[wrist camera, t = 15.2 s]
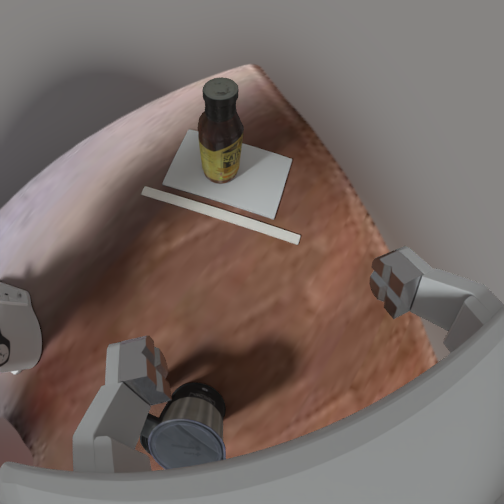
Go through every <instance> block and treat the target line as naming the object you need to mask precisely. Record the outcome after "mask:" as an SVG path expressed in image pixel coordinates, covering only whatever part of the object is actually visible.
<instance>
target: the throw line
mask: <svg viewBox="0 0 504 504" xmlns="http://www.w3.org/2000/svg"><path fill="white" fill-rule="evenodd" d="M141 195H144V196H147V197H150V198H154V199H157V200H160V201H163V202H167V203H170V204H173V205H176V206H180V207H183V208H186V209H189V210H192V211H196V212H199V213H202V214H205V215H208V216H211V217H214V218H218V219H221V220H224V221H227V222H230V223H233V224H236V225H239V226H242V227H245V228H248V229H252V230H255V231H258V232H261V233H264V234H267V235H270V236H273V237H276V238H279V239H282V240H285V241H288V242H291V243H294V244H296V245H298V243H299V240H300V236H301V235H298V234H295V233H292V232H289V231H286V230H283V229H280V228H277V227H274V226H271V225H268V224H265V223H262V222H259V221H256V220H253V219H250V218H247V217H244V216H241V215H238V214H235V213H231V212H228V211H225V210H222V209H219V208H216V207H213V206H209V205H206V204H203V203H200V202H196V201H193V200H190V199H187V198H183V197H180V196H177V195H173V194H170V193H167V192H163V191H160V190H156V189H153V188H150V187H146V186H144V189H143V191H142V193H141Z"/></svg>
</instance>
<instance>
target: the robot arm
mask: <svg viewBox="0 0 504 504" xmlns="http://www.w3.org/2000/svg"><path fill="white" fill-rule="evenodd" d="M372 268H373V270H374V272H373V273H372V275H371V276H370V287H371V291H372V293H373V294H374V296H375V297H376V298H377V299H378V300H381V301H383V302H384V308H385V309H386V310H387V312H388V313H389V314H390V315H391V317H392V318H393V319H395V318H397V317H399V316H401V315H403V314H404V313H406V312H408V311H410V310H411V311H410V312H412V313H414V314H416V315H418V316H420V317H422V318H424V319H426V320H428V321H430V322H432V323H433V324H436V325H437V326H439V327H441V328H443V329H445V330H447V331H448V333H447V335H446V337H445V338H444V342H443V343H444V345H445V346H446V347H447V348H448V350H449V351H450V352H451V353H450V354H449V355H448V356H446V357H445V358H443V359H442V360H441V361H439V362H438V363H437V364H435V365H434V366H432V367H431V368H430V369H428V370H427V371H425V372H424V373H422V374H421V375H419V376H418V377H416V378H415V379H413V380H412V381H410V382H409V383H407V384H406V385H404V386H402V387H401V388H399V389H397V390H396V391H394V392H392V393H391V394H389V395H387V396H386V397H384V398H382V399H380V400H379V401H377V402H375V403H373V404H371V405H369V406H367V407H366V408H364V409H362V410H360V411H358V412H356V413H354V414H352V415H350V416H348V417H346V418H343V419H341V420H339V421H337V422H335V423H332V424H330V425H328V426H326V427H323V428H321V429H319V430H316V431H314V432H311V433H309V434H306V435H304V436H301V437H298V438H296V439H293V440H290V441H287V442H284V443H281V444H278V445H275V446H272V447H269V448H266V449H263V450H259V451H256V452H252V453H249V454H245V455H241V456H237V457H233V458H229V459H225V460H220V461H216V462H211V463H206V464H200V465H194V466H188V467H182V468H174V469H166V470H157V471H151V465H150V460H149V457H148V456H147V455H145V454H143V453H141V452H139V451H137V450H135V447H136V444H137V441H138V439H139V436H140V433H141V431H142V428H143V425H144V423H145V420H146V418H147V415H148V412H149V410H150V407H151V406H150V405H155V404H159V403H163V402H168V401H172V398H171V390H170V384H169V383H168V382H167V381H166V379H165V378H166V377H167V375H168V367H167V363H166V360H165V357H164V355H163V353H162V352H161V350H160V349H159V348H156V347H154V341H153V340H152V338H151V337H150V336H143V337H139V338H135V339H130V340H126V341H122V342H118V343H114V344H109V346H108V348H107V360H106V378H105V385H104V386H101V388H100V390H99V391H98V393H97V395H96V396H95V398H94V400H93V402H92V403H91V405H90V407H89V408H88V410H87V412H86V414H85V415H84V417H83V419H82V421H81V422H80V424H79V426H78V428H77V430H76V431H75V433H74V435H73V468H74V471H64V470H55V469H47V468H40V467H34V466H29V465H24V464H19V463H15V462H5V463H4V464H3V465H2V467H1V468H0V504H504V304H503V303H502V302H501V301H500V300H499V299H498V298H497V297H496V296H495V295H494V294H493V293H492V292H491V291H490V290H489V289H488V288H487V287H486V286H485V285H484V284H481V283H478V282H475V281H473V280H470V279H467V278H464V277H461V276H458V275H455V274H452V273H449V272H446V271H443V270H440V269H437V268H436V269H433V268H431V267H430V266H429V265H428V264H427V263H426V262H425V261H424V260H423V259H422V258H421V257H419V256H418V255H417V254H416V253H415V252H414V251H413V250H412V249H410V248H409V247H407V246H404V247H401V248H399V249H396V250H395V251H391V252H389V253H387V254H384V255H382V256H380V257H377V258H375V259H374V260H373V262H372ZM41 350H42V337H41V331H40V326H39V323H38V320H37V318H36V316H35V313H34V311H33V309H32V306H31V300H30V295H29V293H28V291H26V290H23V289H20V288H17V287H14V286H11V285H8V284H5V283H2V282H0V373H3V372H12V373H13V374H19V373H20V372H21V371H22V370H23V369H30V368H32V367H34V366H35V365H36V364H37V362H38V360H39V358H40V355H41Z"/></svg>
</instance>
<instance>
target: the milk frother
mask: <svg viewBox="0 0 504 504" xmlns="http://www.w3.org/2000/svg"><path fill="white" fill-rule="evenodd" d="M171 398H172V401H168V403H167V404H166V406H165V407H164V409H163V411H162V413H161V415H160V417H159V418H158V417H156V416H153V415H151V414H149V413H148V415H147V418H146V420H145V423H144V425H143V428H142V431H141V433H140V442H141V444H142V446H143V448H144V449H145V450H146V451H147V452H148V453H149V454H151V455H152V456H153V458H154V459H155V460H156V462H157V463H158V464H159V465H160V466H162V467H163V468H165V469H174V468H182V467H188V466H194V465H200V464H206V463H211V462H216V461H220V460H225V459H226V456H225V455H226V452H225V445H224V442H223V418H224V416H225V403H224V400H223V398H222V396H221V395H220V394H219V393H218V392H217V391H216V390H215V389H214V388H212V387H210V386H208V385H205V384H202V383H188V384H184V385H182V386H180V387H179V388H178V389H176V390H175V392H174V393H173V394H172V396H171Z"/></svg>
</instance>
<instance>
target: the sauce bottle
mask: <svg viewBox="0 0 504 504" xmlns="http://www.w3.org/2000/svg"><path fill="white" fill-rule="evenodd" d="M237 98H238V85H237V84H236V83H235V82H234V81H233V80H231V79H228V78H214V79H212V80H210V81H208V82H207V83H206V84H205V85H204V87H203V99H204V101H205V112H203V113H202V115H201V116H200V118H199V122H198V139H199V147H200V155H201V162H202V169H203V171H204V174H205V176H206V177H207V178H208V179H209V180H210V181H211V182H214V183H217V184H223V183H227V182H229V181H230V180H232V179H233V178H234V177H235V176H236V174H237V172H238V169H239V165H240V156H241V148H242V139H243V130H244V128H243V125H242V123H241V121H240V118H239V116H238V114H237V112H236V100H237Z"/></svg>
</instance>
